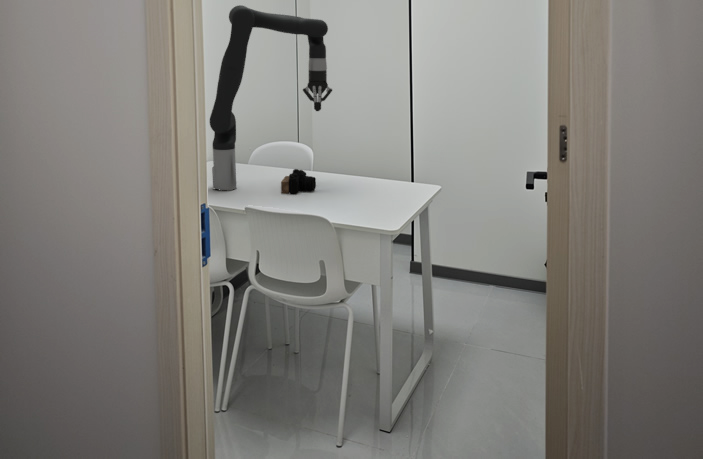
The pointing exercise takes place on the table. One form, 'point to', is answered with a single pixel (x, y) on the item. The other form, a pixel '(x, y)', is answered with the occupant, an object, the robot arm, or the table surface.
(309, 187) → the film camera
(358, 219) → the table surface
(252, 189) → the table surface
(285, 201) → the table surface
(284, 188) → the bar
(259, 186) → the table surface
